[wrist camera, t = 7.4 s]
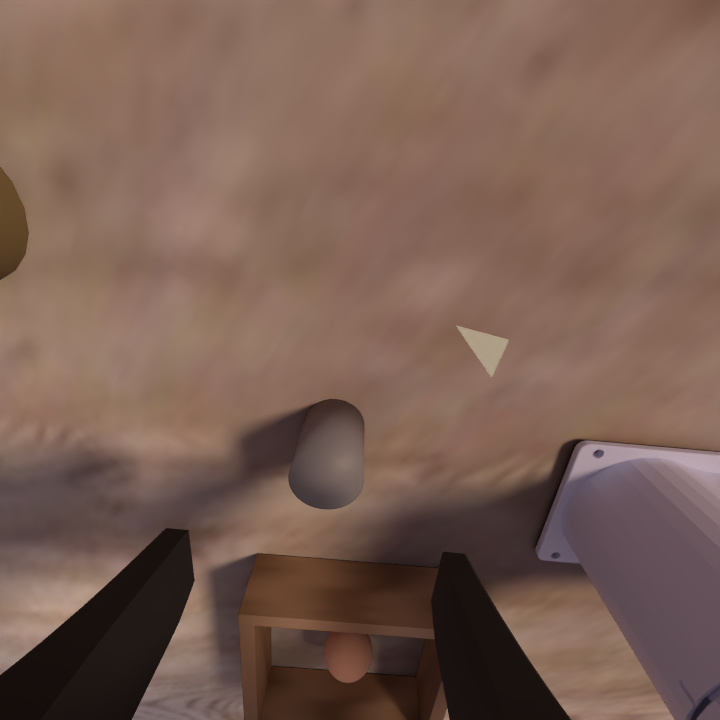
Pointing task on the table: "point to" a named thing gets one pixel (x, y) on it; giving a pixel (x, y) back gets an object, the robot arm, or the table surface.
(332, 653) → the terracotta ball
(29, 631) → the table surface
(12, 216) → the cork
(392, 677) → the walnut crate
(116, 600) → the robot arm
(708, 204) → the table surface
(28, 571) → the table surface
